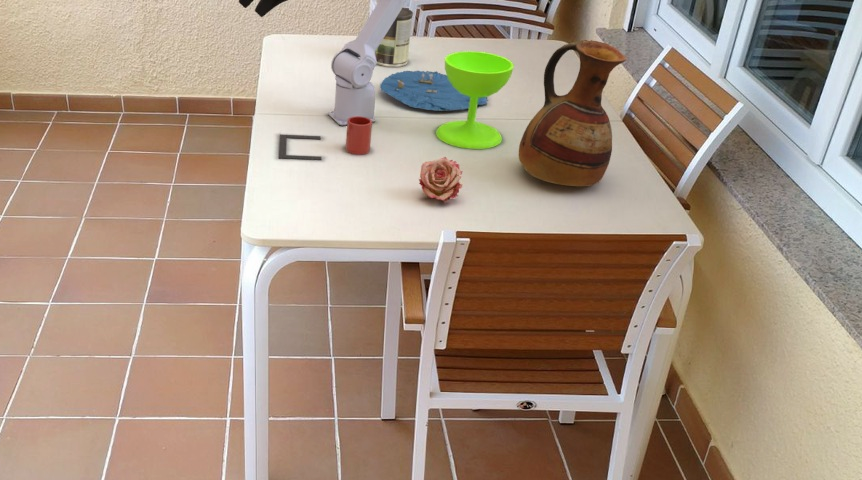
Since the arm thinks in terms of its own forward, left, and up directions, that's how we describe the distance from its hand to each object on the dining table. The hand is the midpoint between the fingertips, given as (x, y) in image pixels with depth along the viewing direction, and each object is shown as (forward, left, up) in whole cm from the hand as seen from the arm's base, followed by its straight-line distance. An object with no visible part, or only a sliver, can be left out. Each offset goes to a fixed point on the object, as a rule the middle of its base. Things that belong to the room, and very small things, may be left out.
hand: (249, 9), depth 210 cm
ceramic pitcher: (-59, +41, -29) cm, 78 cm away
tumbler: (-21, +14, -29) cm, 39 cm away
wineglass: (-51, +14, -29) cm, 61 cm away
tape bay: (-9, +9, -29) cm, 32 cm away
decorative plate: (-56, -15, -29) cm, 65 cm away
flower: (-27, +43, -29) cm, 59 cm away
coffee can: (-57, -42, -29) cm, 77 cm away
